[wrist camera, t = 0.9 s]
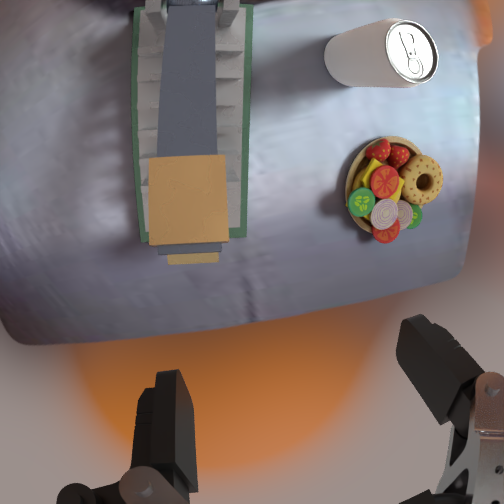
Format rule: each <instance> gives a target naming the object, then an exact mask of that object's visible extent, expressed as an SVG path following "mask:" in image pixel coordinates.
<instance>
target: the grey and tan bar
mask: <svg viewBox="0 0 504 504" xmlns="http://www.w3.org/2000/svg"><path fill="white" fill-rule="evenodd" d="M166 7H167V14H168V16H167V24H166V32H165V41H164V50H163V60H162V71H161V83H160V97H159V113H158V135H157V157H156V158H149V182H148V209H149V245H150V246H152V247H157V246H158V255H174V254H193V253H213V252H221V251H222V245H221V243H228V242H229V227H228V207H227V186H226V163H225V155H218V153H217V118H216V61H215V13H217V9H218V0H167V6H166Z"/></svg>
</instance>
